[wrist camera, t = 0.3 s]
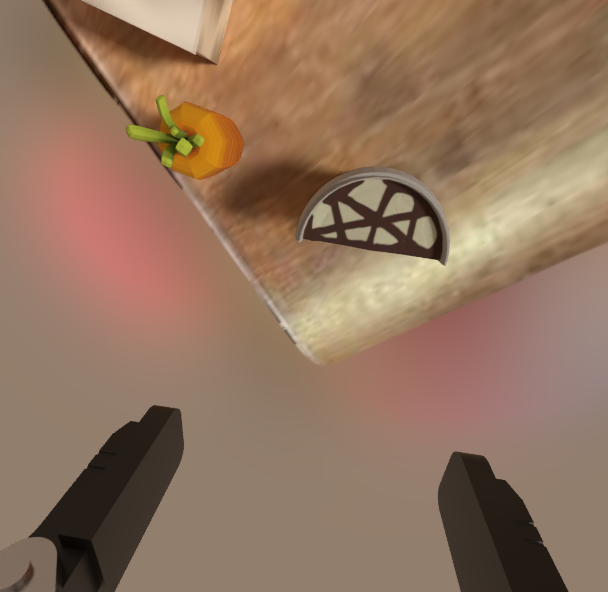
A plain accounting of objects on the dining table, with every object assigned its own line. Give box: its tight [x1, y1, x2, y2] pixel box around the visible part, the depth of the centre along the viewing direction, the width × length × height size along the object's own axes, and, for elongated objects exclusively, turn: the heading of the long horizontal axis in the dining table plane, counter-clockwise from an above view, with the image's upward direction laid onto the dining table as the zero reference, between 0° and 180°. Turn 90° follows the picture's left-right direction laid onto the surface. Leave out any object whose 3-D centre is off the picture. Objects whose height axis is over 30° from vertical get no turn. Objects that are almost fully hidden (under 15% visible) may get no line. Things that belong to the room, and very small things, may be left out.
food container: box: [295, 167, 450, 266], centre depth 28 cm, size 12×6×10 cm, turn 82°
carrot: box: [126, 95, 244, 180], centre depth 25 cm, size 5×5×15 cm
